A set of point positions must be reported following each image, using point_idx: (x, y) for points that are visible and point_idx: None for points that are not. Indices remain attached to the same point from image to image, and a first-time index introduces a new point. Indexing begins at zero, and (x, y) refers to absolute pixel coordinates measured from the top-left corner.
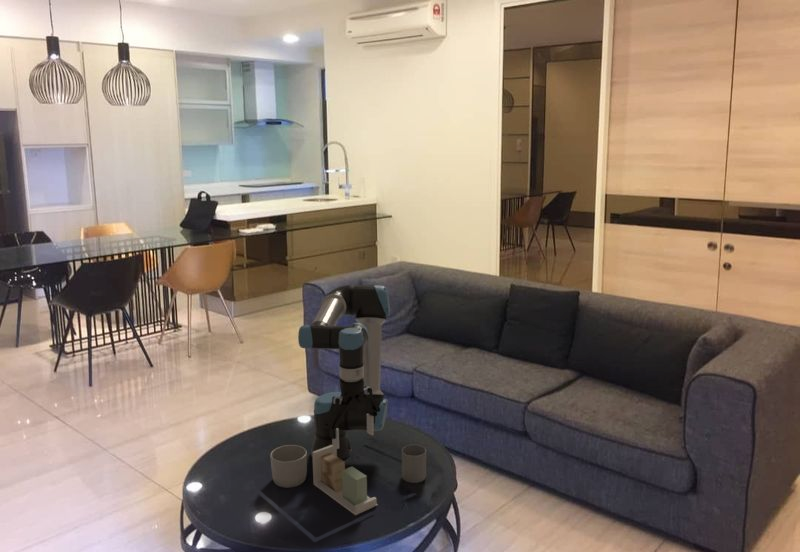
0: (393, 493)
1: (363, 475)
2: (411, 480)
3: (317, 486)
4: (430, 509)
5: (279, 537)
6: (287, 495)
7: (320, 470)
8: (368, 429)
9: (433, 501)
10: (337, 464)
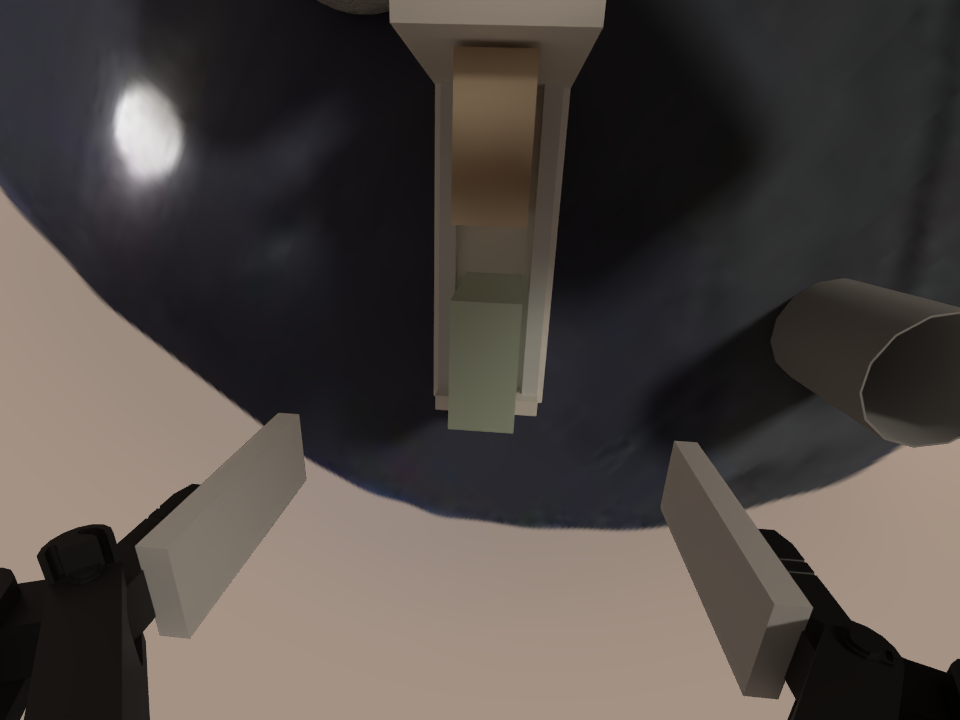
0: (656, 368)
1: (504, 418)
2: (780, 364)
3: (439, 99)
4: (662, 522)
5: (161, 299)
6: (300, 44)
7: None
8: (683, 488)
9: None
10: (472, 224)
